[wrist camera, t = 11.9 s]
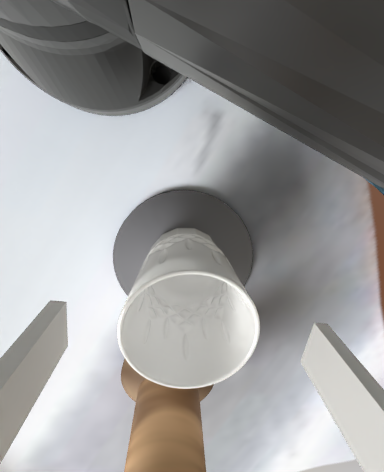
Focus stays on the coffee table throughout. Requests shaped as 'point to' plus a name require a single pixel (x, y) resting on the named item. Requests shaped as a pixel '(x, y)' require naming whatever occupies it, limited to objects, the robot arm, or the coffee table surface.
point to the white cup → (187, 314)
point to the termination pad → (180, 216)
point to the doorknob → (164, 426)
